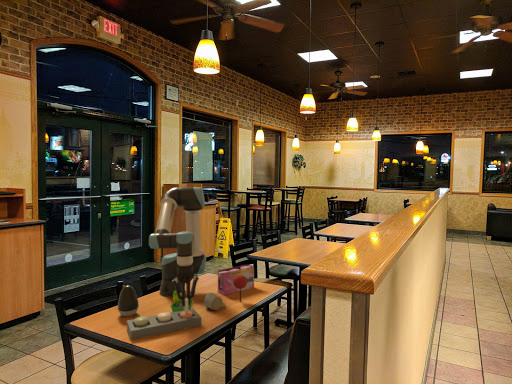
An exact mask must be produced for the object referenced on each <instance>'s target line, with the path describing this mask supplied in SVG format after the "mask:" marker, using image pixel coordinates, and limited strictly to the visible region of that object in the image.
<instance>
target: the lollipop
mask: <svg viewBox="0 0 512 384" xmlns="http://www.w3.org/2000/svg"><path fill="white" fill-rule="evenodd" d="M233 283H234V286H235V287H236V288H238V289H240V291H239V302H242V299H241V298H242V295H241V294H242V291H241V289H243V288H244V287H246V285H247V279H246V277H245V276H244V275H237V276H236V277H235V278H234V281H233Z"/></svg>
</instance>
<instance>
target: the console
mask: <svg viewBox="0 0 512 384" xmlns="http://www.w3.org/2000/svg"><path fill="white" fill-rule="evenodd" d="M183 311H184V310H183ZM183 311H177V312H170V313H171V320H170V321H167V322H158V314H156V315H150V316H147V317H148V325H146V326H141V327H136V326H135V323H134V320H135V318H134V319H129V320H126V330H127V334H128V335H129V338H130V340H131V341H133V340H132V339H134V340H138V339H137V338H139V339H143V338H142V337H144V338H147V337H148V338H149V337H153V336H157V335H162V334H163V335H164V334H166V333H168V334H169V333H172V332H177V331H181V330H186V329H191V328H197V327H201V326H202V316H201V315H200V314H199V313H198V312H197V311H196V309H194V308H191V309H188V311H191V312H192V313H193V317H188V318H182V319H181V318H180V313H181V312H183Z"/></svg>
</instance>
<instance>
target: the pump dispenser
mask: <svg viewBox="0 0 512 384" xmlns="http://www.w3.org/2000/svg"><path fill="white" fill-rule="evenodd" d="M138 299H139V298H138V295H137V293H136V290H135V289H134V287H133V286H132V285H125V284H124V285H122V289H121V291H120V294H119V298H118V302H117V311H118V312H119V314H120V315H121V316H122V317H131V316H134V315H135V314H136V313H137V312H138V309H139V300H138Z"/></svg>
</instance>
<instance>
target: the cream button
mask: <svg viewBox="0 0 512 384" xmlns="http://www.w3.org/2000/svg"><path fill="white" fill-rule="evenodd" d="M171 313H172V312H168V311H167V312H165V311H164V312H161V313H158V314H157V315H158V322H167V321H170V320H171Z"/></svg>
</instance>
